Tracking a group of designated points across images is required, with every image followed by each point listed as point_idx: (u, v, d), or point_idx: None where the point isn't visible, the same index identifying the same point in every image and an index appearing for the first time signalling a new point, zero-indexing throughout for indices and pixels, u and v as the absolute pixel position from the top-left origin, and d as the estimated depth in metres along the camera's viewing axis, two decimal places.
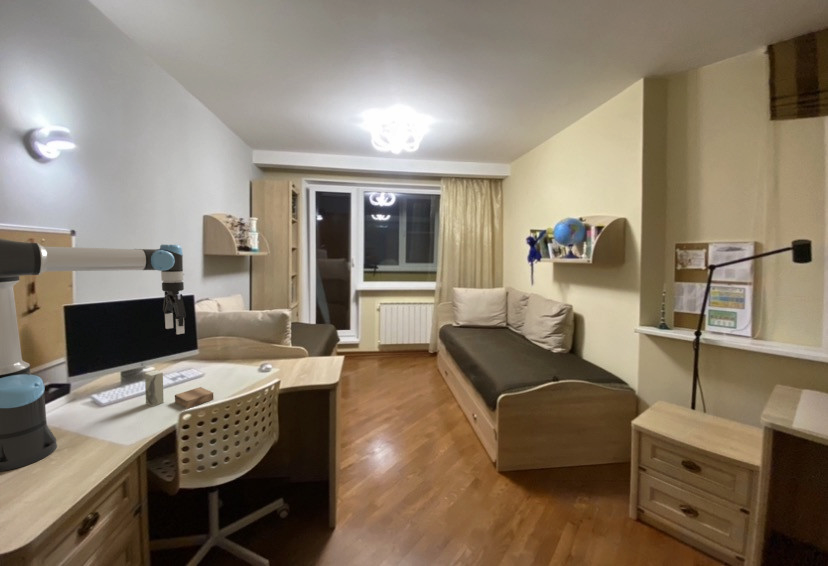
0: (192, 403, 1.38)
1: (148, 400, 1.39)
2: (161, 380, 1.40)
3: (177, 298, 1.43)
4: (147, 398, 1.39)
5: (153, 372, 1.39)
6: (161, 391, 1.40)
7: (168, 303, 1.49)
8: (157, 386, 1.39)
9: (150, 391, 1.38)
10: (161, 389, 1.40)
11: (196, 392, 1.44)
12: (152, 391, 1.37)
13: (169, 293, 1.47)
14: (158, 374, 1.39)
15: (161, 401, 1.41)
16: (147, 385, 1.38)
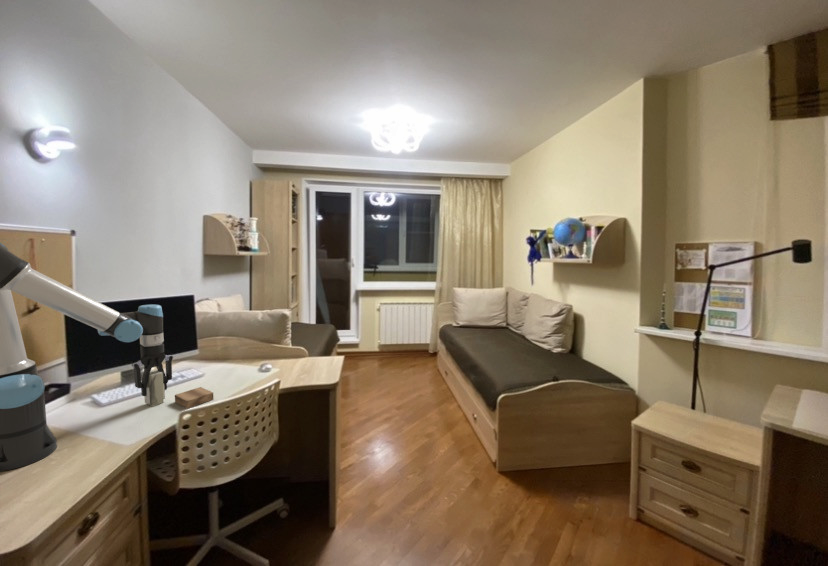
0: (192, 403, 1.38)
1: None
2: (161, 380, 1.40)
3: (133, 367, 1.34)
4: None
5: (153, 372, 1.39)
6: (161, 391, 1.40)
7: None
8: (157, 386, 1.39)
9: (150, 391, 1.38)
10: (161, 389, 1.40)
11: (196, 392, 1.44)
12: (152, 391, 1.37)
13: None
14: (158, 374, 1.39)
15: (161, 401, 1.41)
16: (147, 385, 1.38)
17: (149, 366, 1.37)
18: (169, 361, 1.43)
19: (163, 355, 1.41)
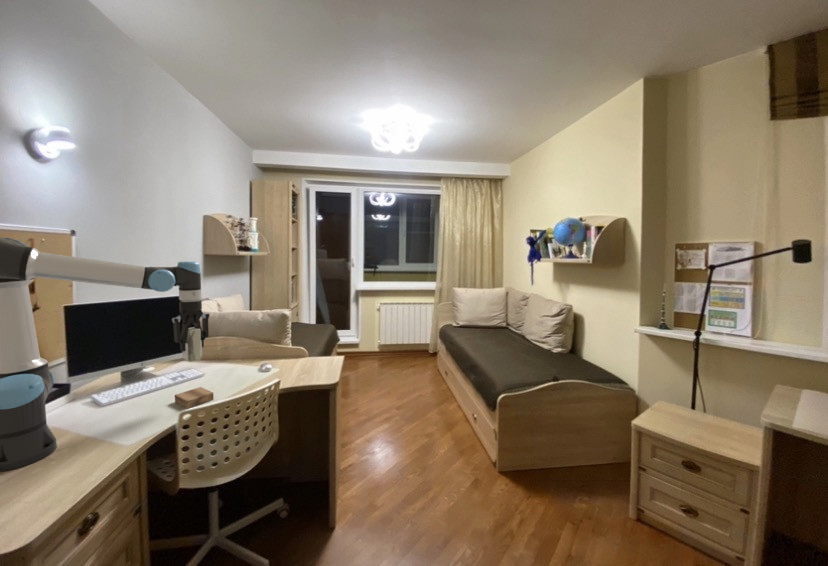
0: (192, 403, 1.38)
1: None
2: (199, 336, 1.41)
3: (173, 322, 1.36)
4: None
5: (191, 328, 1.41)
6: (199, 347, 1.42)
7: (194, 324, 1.43)
8: (195, 342, 1.40)
9: (188, 347, 1.39)
10: (199, 345, 1.42)
11: (196, 392, 1.44)
12: (191, 346, 1.39)
13: None
14: (196, 330, 1.40)
15: (199, 357, 1.42)
16: (186, 341, 1.40)
17: (188, 322, 1.38)
18: (206, 319, 1.44)
19: (200, 312, 1.42)
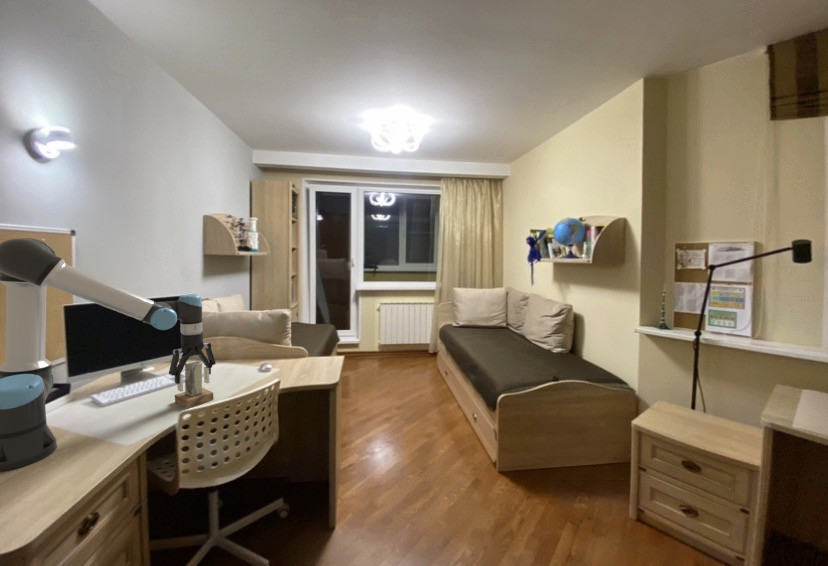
0: (192, 403, 1.38)
1: (187, 390, 1.42)
2: (200, 370, 1.43)
3: (173, 354, 1.36)
4: (186, 388, 1.42)
5: (193, 362, 1.43)
6: (200, 381, 1.43)
7: (198, 355, 1.45)
8: (196, 376, 1.42)
9: (190, 381, 1.41)
10: (200, 379, 1.43)
11: None
12: (192, 381, 1.40)
13: None
14: (197, 364, 1.42)
15: (200, 391, 1.43)
16: (187, 375, 1.41)
17: (188, 354, 1.39)
18: (209, 348, 1.46)
19: (201, 344, 1.44)
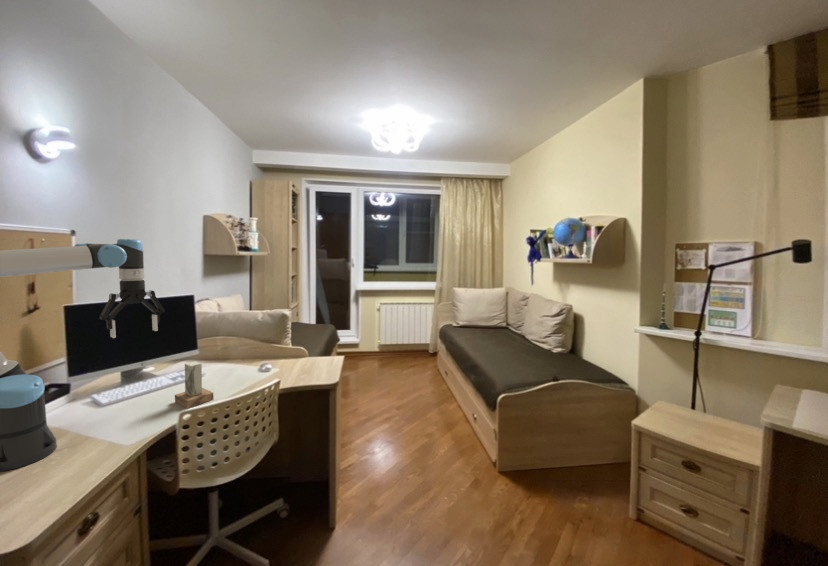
0: (192, 403, 1.38)
1: (187, 390, 1.42)
2: (200, 371, 1.43)
3: (109, 297, 1.29)
4: (186, 389, 1.42)
5: (192, 363, 1.42)
6: (200, 382, 1.43)
7: (142, 303, 1.39)
8: (196, 377, 1.41)
9: (190, 381, 1.40)
10: (200, 380, 1.43)
11: None
12: (192, 381, 1.40)
13: None
14: (197, 365, 1.42)
15: (200, 391, 1.43)
16: (187, 375, 1.41)
17: (126, 300, 1.32)
18: (153, 296, 1.40)
19: (143, 292, 1.37)
